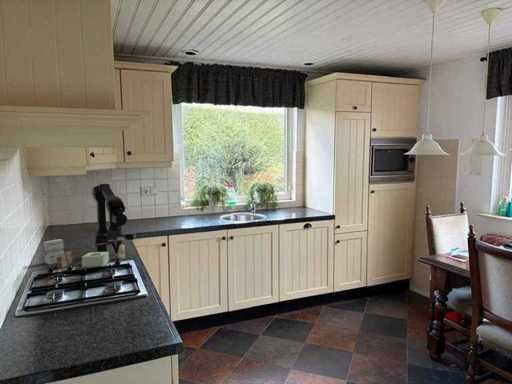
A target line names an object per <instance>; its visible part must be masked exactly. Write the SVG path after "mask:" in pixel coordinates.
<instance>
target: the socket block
mask: <svg viewBox="0 0 512 384" xmlns="http://www.w3.org/2000/svg"><path fill="white" fill-rule="evenodd" d="M109 254H110V253H109V251H108V252H97V251H96V252H95V251H94V252H93V251H92V252H88V253H86V254H84V255H83V256H81V267H82V268H91V267H92V268H93V267H95V268H96V267H104V266H105V265H106V264H108V262H110V255H109Z"/></svg>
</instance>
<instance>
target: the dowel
mask: <svg viewBox="0 0 512 384" xmlns="http://www.w3.org/2000/svg"><path fill="white" fill-rule="evenodd" d="M125 248H126V245H125V244H121V246H120V249H119V252H118V254H117V259H119V260H122V259H126V249H125Z"/></svg>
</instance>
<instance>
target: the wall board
mask: <svg viewBox="0 0 512 384" xmlns="http://www.w3.org/2000/svg"><path fill="white" fill-rule="evenodd" d="M72 263H73V252H72V251H71V250H70V251H69V250H68V251H66V252H64V254H62V255H60V256H58V257H57V263H56V265H57V270H62V269H64V268H65V267H67V266H69V265H70V264H72Z"/></svg>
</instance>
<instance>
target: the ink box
mask: <svg viewBox="0 0 512 384" xmlns="http://www.w3.org/2000/svg"><path fill="white" fill-rule="evenodd" d="M64 247H65V246H64V240H63V239H61V238H60V239H53V240H47V241H43V251H44V252H43V253H44V263H45V264H47V265H52V264H57V257H58V256H60V255H62V254H64V253H65V248H64Z"/></svg>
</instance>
